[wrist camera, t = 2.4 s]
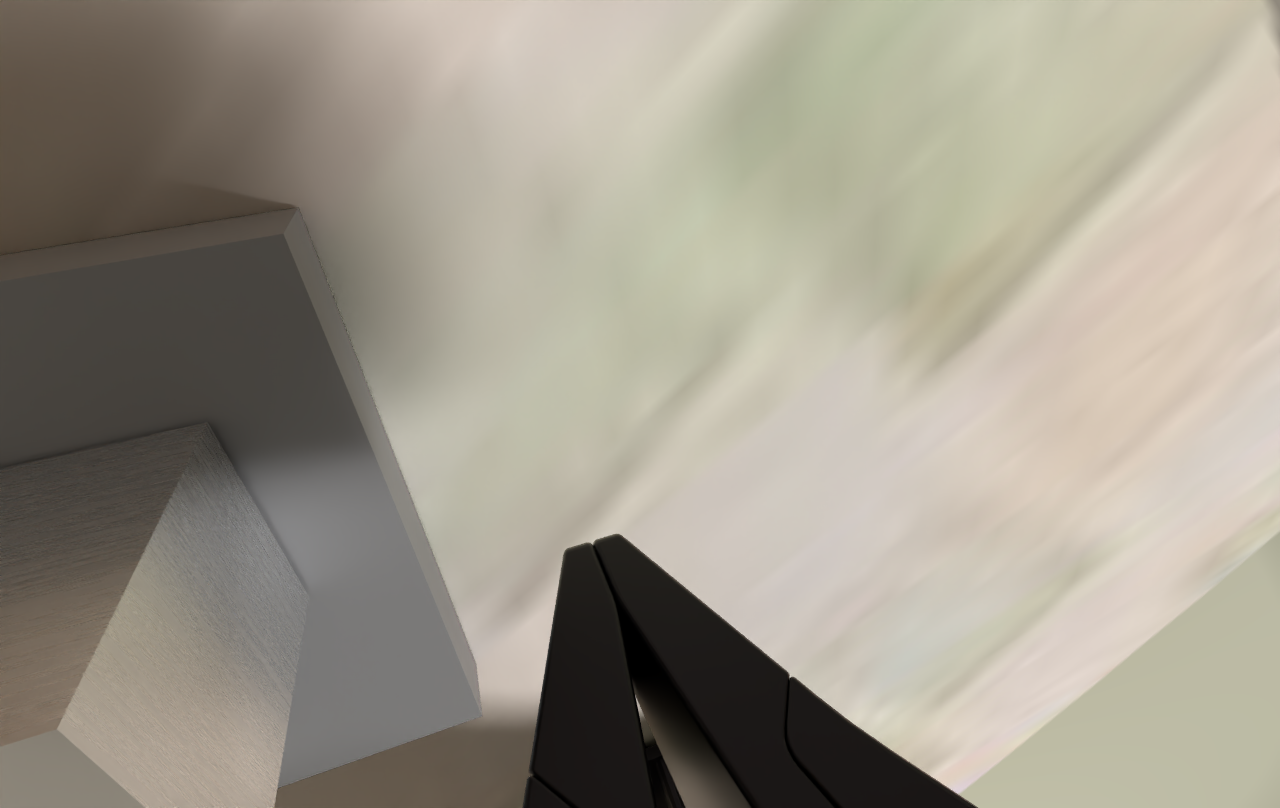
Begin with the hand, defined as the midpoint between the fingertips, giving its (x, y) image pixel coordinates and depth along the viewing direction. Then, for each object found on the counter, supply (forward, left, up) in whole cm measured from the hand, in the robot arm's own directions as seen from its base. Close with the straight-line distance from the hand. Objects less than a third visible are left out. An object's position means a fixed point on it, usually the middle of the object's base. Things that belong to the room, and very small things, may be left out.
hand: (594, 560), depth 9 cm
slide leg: (-1, +7, -3) cm, 8 cm away
